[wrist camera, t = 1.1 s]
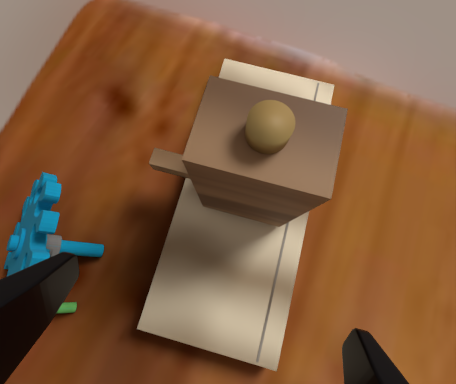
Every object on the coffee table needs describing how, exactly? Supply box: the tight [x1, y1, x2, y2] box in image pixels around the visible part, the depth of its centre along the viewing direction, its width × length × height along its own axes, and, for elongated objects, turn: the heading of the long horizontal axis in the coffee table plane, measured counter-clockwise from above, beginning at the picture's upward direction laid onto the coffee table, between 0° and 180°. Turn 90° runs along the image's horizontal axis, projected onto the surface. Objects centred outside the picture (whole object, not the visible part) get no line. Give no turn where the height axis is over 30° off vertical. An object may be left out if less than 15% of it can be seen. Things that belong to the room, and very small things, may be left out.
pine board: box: [137, 59, 334, 371], centre depth 22 cm, size 23×10×2 cm, turn 165°
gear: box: [4, 172, 104, 314], centre depth 19 cm, size 11×6×10 cm
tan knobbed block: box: [149, 76, 348, 227], centre depth 15 cm, size 4×11×11 cm, turn 75°
